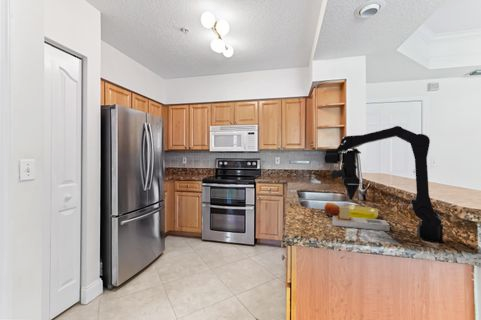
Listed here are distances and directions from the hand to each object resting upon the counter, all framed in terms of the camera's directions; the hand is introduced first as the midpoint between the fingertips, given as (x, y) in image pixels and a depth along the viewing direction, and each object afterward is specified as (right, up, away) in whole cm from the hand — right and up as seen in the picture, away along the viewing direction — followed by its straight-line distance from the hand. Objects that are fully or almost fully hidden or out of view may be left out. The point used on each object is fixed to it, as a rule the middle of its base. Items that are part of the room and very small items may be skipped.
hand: (349, 197), depth 100 cm
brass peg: (-2, -13, +2) cm, 13 cm away
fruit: (-1, -13, +17) cm, 22 cm away
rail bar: (+4, -13, -1) cm, 13 cm away
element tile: (+13, -13, +15) cm, 24 cm away
